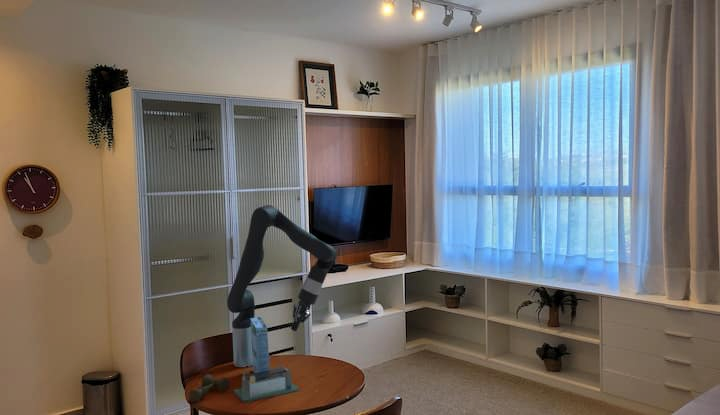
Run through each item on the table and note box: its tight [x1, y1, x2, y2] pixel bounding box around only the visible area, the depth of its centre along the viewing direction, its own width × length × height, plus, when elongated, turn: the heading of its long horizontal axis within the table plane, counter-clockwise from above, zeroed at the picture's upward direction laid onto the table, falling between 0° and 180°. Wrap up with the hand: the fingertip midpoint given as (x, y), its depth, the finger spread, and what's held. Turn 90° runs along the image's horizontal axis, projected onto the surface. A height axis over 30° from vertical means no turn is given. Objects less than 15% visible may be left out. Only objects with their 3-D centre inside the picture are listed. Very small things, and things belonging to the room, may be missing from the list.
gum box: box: [250, 316, 271, 373], centre depth 236 cm, size 20×5×23 cm, turn 17°
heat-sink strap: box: [246, 366, 288, 379], centre depth 219 cm, size 4×16×1 cm, turn 119°
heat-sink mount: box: [233, 365, 300, 404], centre depth 219 cm, size 13×22×8 cm, turn 119°
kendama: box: [188, 374, 230, 403], centre depth 219 cm, size 6×10×20 cm
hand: (293, 330), depth 229 cm, fingers closed
